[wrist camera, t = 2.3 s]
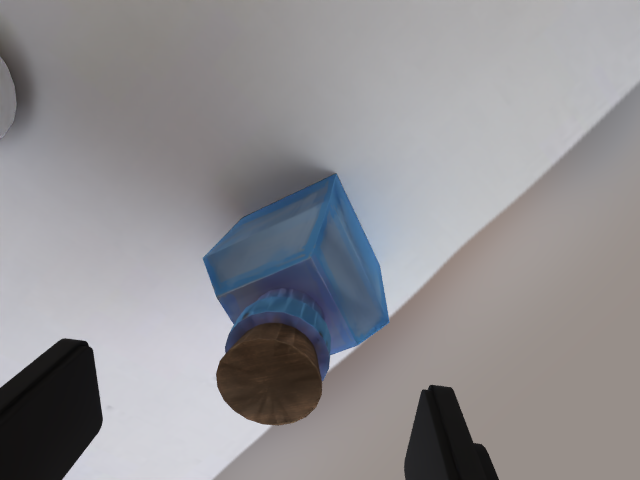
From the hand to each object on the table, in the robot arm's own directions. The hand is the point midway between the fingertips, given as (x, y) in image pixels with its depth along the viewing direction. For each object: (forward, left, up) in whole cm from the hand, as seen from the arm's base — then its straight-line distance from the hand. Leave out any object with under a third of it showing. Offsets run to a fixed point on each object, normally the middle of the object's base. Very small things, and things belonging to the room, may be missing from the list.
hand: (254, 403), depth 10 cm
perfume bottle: (0, 0, -13) cm, 13 cm away
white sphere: (+18, -8, -13) cm, 23 cm away
